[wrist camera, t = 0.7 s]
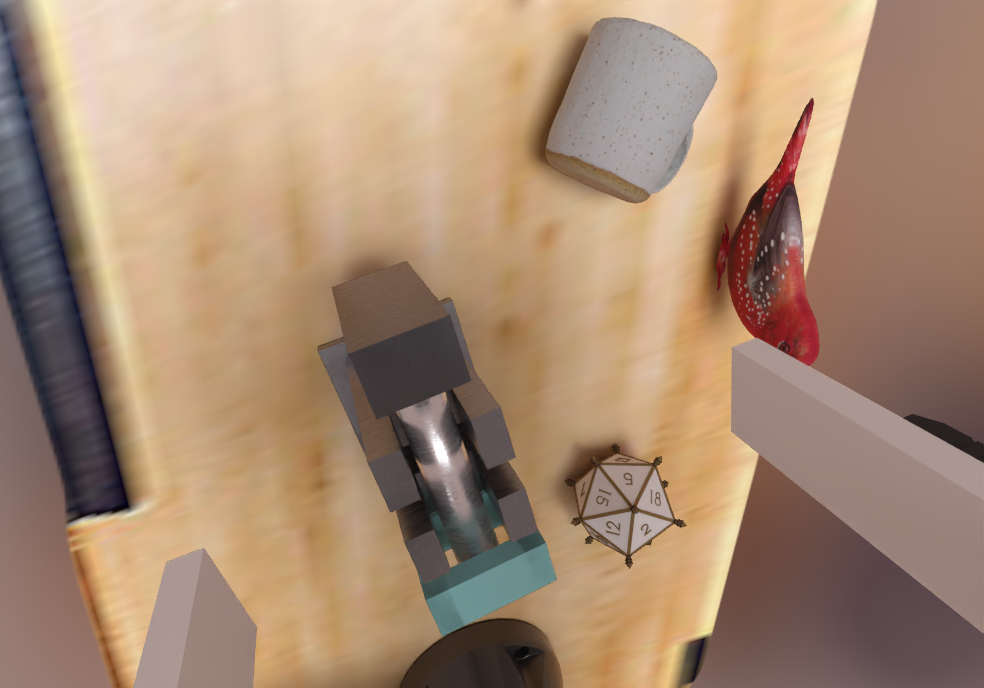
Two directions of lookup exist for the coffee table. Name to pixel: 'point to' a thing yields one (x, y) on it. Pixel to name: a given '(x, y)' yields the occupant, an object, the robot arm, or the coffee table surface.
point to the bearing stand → (401, 471)
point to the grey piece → (417, 389)
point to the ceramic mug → (630, 109)
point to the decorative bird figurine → (773, 261)
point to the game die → (623, 503)
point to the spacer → (487, 577)
